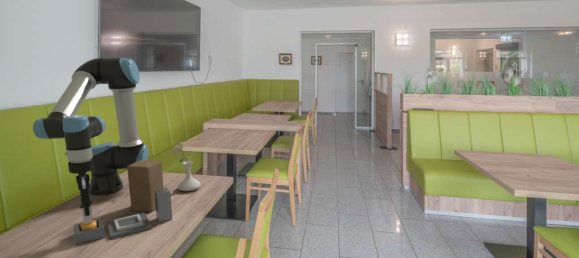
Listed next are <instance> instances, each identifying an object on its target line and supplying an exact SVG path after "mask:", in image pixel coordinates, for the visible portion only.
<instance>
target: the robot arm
mask: <svg viewBox="0 0 579 258" xmlns="http://www.w3.org/2000/svg"><path fill="white" fill-rule="evenodd" d="M139 82H140V71H139V68H138V65H137V63H136V62H135V61H134V60H133V59H132V58H126V57H107V58H105V57H103V58H102V57H97V58H93V59H90V60H87V61H86V62H84V63H82V64H81V65H80V66H78V68H77V69H76V70H74V72H73V73H72V75H71V81H70V82H69V84H68V86H66V89H65V90H64V92H63V93H62V95H61V96H60V97H59V99H58V100H57V102H56V103H55V105H54V107H53V108H52V109H51V111H50V112H49V114H47V115H48V116H47V117H46V118H45V117H42V118H41V117H40V118H38V119H36V120H34V121H33V124H32V132H33V134H34V135H35V137H36V138H38V139H47V140H52V139H53V140H54V139H64V143H65V150H66V152H64V156H66V158H67V161H68V163H67V168H68V172H69V173H70V174H73V175H74V174H77V175H75V180H76V184H77V188H78V190H79V193H80V202H81V205H80V206H79V209H81V210H82V211H81V212H82V218H83V222H84V224H89V223H93V220H94V219H93V213H92V204H93V201H91V200H90V199H91V197H90V195H93V196H95V195H96V196H101V195H109V194H114V193H117V192H119V191H121V190H122V189H124V183H123V180H122V179H121V177H120V175H119V171H118V170H127V166H129V165H131V164H133V163H136V162H138V161H140V160H149V159H148V158H149V154H150V151H149V147H148V145H147V144H144V140H143V139H141V138H140V133H139V125H138V118H137V110H136V104H135V103H136V101H135V95H134V93H135V92H134V91H135V89H136V88H137V84H139ZM97 85H108V86H107V88H108V90H109V91H111V92H112V95H113V102H114V108H115V117H116V123H117V128H118V136H119V141H118V142H117V143H115V142H104V143H99V144H96V145H93V146H92V140H91V139H93V138H95V137H98V136H100V135H101V134H103V133H104V132H105V130H106V128H107V127H106V122H105V120H104V119H103V118H102V117H100V116H98V115H97V116H96V115H93V116H91V115H90V116H87V115H83V114H78V111H79V110H80V108H81V106H82V105H83V103H84V101H85V99H86V98H87V96H88V94H89V93H90V91H91V90H94V88H95V87H96V86H97ZM88 172H90V174H89V173H88ZM90 175H91V176H90Z"/></svg>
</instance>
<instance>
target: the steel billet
mask: <svg viewBox="0 0 579 258" xmlns="http://www.w3.org/2000/svg"><path fill="white" fill-rule="evenodd" d="M154 194H155V206H156V210H155V215H156V220H157V221H158V222H159V223H160V224H161V223H164V222H168V221H172V220H173V209H172V197H171V191H170V190H169V188H168V187H164V189H158V190H154Z"/></svg>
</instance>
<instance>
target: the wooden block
mask: <svg viewBox="0 0 579 258" xmlns="http://www.w3.org/2000/svg"><path fill="white" fill-rule="evenodd" d="M126 170H127V178H128V179H127V180H128V189H129V197H130V209H131V211H136V212H143V213H146V212H147V213H153V212H154V211H156V206H155V194H154V190H158V189H164V188H165V187H164V179H163V178H164V177H163V165H162V161H161V160H151V159H150V160H149V159H148V160H140V161H138V162H136V163H133V164H131V165H129V166H127V169H126Z"/></svg>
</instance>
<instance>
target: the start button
mask: <svg viewBox="0 0 579 258" xmlns="http://www.w3.org/2000/svg"><path fill="white" fill-rule="evenodd" d="M92 220H93V223H89V224H84V221H82V222H83V223H82V222H80V223H81V225H80V226H81V231H84V230H88V229H92V228H97V222H96V221H95V219H92Z"/></svg>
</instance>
